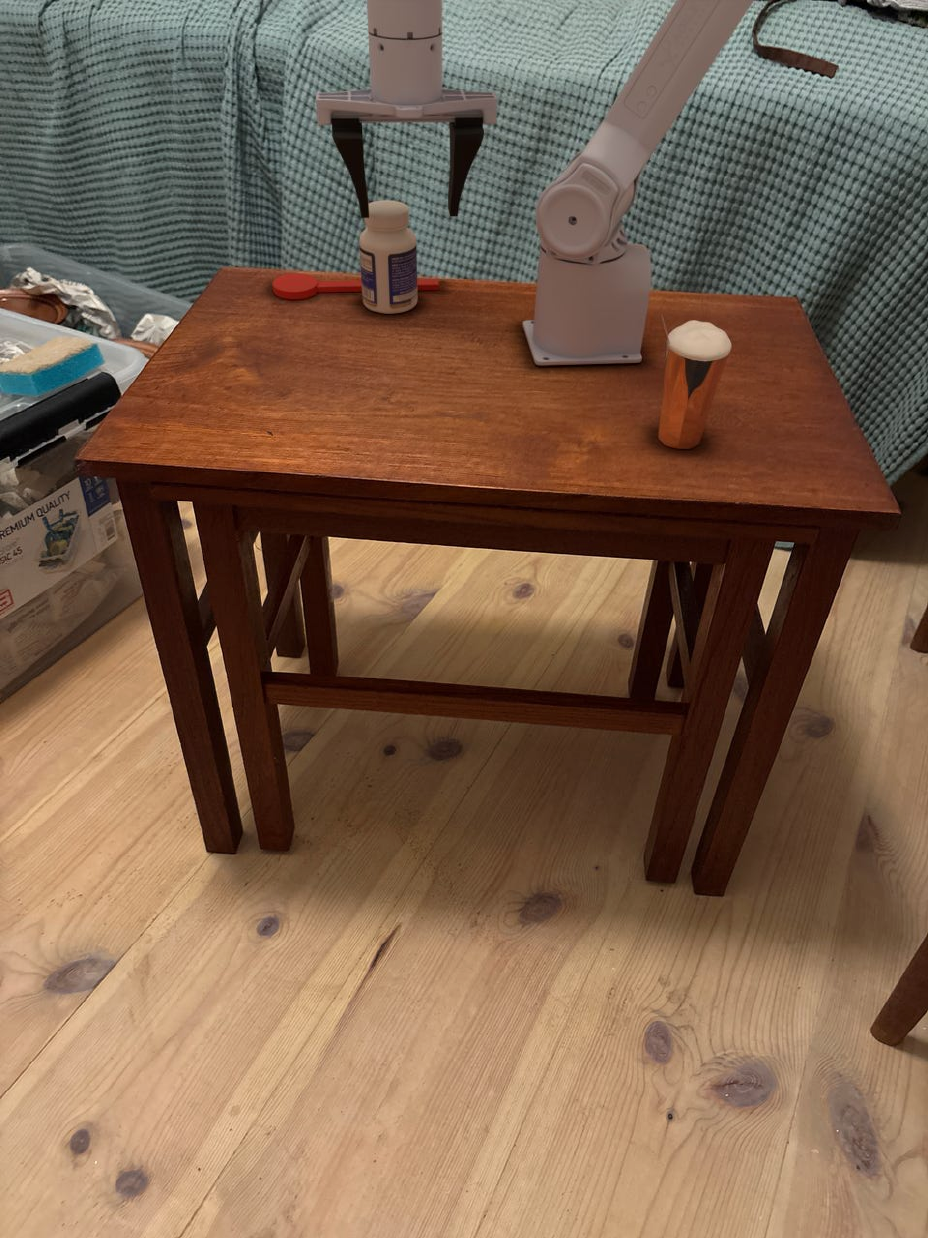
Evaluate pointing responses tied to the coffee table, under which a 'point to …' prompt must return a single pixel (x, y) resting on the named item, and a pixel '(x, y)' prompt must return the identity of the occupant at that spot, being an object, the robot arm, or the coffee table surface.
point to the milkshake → (690, 381)
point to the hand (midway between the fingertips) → (409, 213)
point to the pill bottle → (388, 259)
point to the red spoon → (326, 286)
